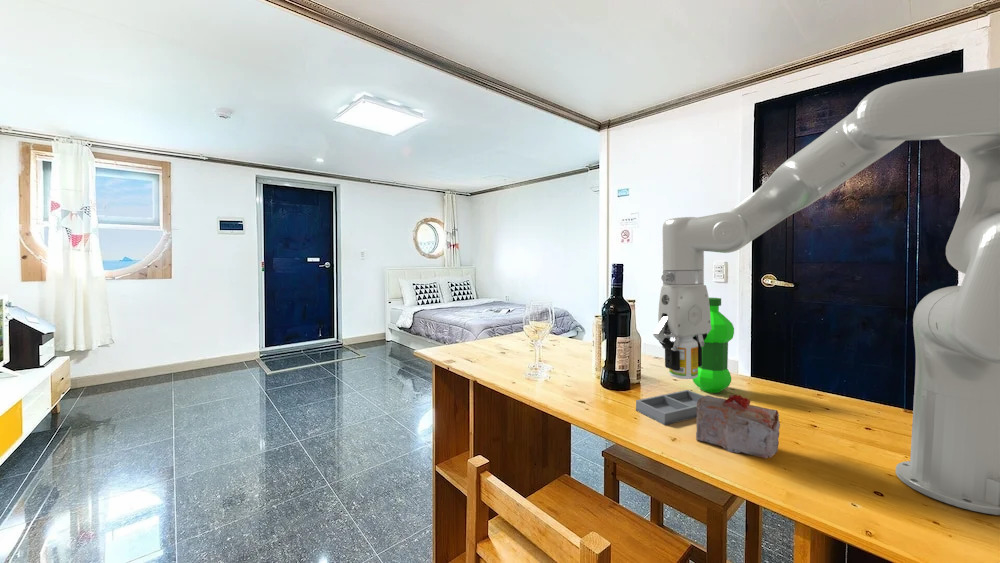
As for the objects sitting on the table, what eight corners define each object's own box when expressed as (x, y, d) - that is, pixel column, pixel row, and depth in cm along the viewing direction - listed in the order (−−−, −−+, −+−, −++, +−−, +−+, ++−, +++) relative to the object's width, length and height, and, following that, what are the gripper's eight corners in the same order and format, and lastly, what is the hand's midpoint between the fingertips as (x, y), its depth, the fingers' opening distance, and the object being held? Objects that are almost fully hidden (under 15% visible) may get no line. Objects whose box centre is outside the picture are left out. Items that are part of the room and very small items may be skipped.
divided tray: (718, 411, 90) (718, 401, 90) (664, 425, 84) (664, 413, 84) (687, 399, 98) (687, 389, 98) (636, 410, 92) (636, 400, 92)
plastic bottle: (691, 393, 102) (692, 300, 101) (688, 381, 112) (690, 295, 110) (734, 398, 98) (737, 301, 97) (728, 385, 108) (730, 296, 106)
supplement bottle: (691, 371, 82) (691, 326, 81) (702, 379, 77) (702, 331, 76) (665, 371, 82) (665, 326, 82) (674, 379, 77) (674, 331, 76)
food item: (781, 449, 73) (782, 398, 72) (777, 467, 67) (778, 412, 66) (701, 429, 82) (702, 383, 81) (691, 443, 76) (692, 394, 75)
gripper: (665, 282, 72) (666, 377, 73) (729, 277, 78) (729, 365, 79) (636, 280, 78) (637, 368, 79) (697, 276, 85) (697, 357, 86)
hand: (683, 365), depth 79 cm, fingers closed on supplement bottle, 5 cm apart
